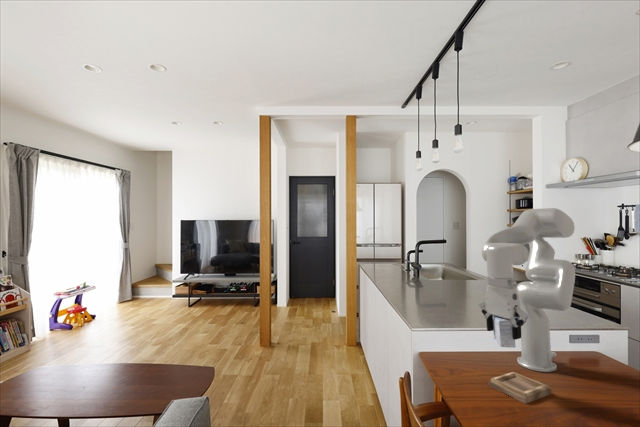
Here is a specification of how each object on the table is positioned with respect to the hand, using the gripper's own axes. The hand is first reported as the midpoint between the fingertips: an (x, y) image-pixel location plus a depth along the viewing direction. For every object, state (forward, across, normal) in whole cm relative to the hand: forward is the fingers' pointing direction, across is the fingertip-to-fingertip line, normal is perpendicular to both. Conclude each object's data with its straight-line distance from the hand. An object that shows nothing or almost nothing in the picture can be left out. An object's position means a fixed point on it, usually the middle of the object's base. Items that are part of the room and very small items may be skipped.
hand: (503, 334), depth 109 cm
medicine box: (+3, 0, 0) cm, 3 cm away
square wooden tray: (+18, -3, -2) cm, 18 cm away
